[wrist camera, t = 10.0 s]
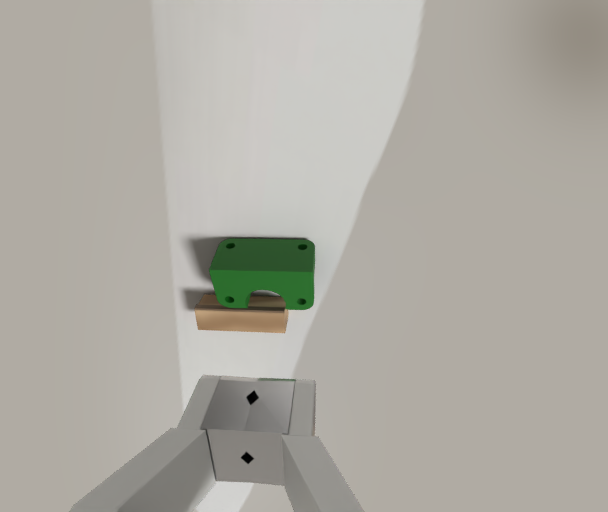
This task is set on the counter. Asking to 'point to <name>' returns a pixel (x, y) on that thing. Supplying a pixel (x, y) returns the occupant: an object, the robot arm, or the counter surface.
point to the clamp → (264, 271)
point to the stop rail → (243, 315)
